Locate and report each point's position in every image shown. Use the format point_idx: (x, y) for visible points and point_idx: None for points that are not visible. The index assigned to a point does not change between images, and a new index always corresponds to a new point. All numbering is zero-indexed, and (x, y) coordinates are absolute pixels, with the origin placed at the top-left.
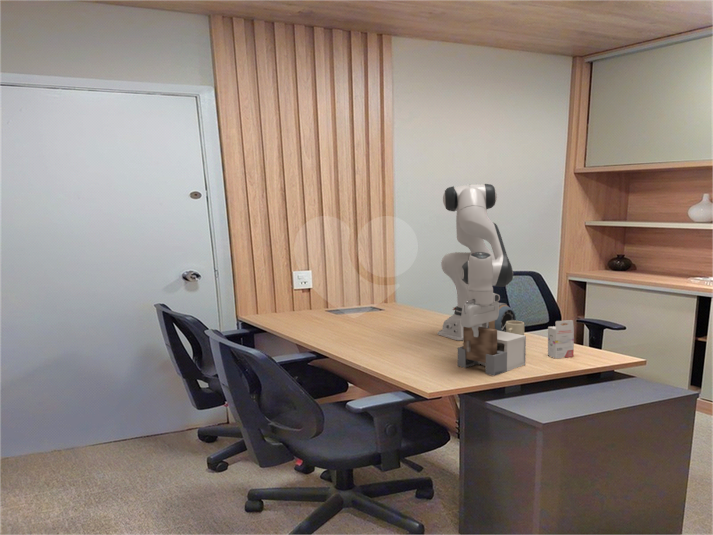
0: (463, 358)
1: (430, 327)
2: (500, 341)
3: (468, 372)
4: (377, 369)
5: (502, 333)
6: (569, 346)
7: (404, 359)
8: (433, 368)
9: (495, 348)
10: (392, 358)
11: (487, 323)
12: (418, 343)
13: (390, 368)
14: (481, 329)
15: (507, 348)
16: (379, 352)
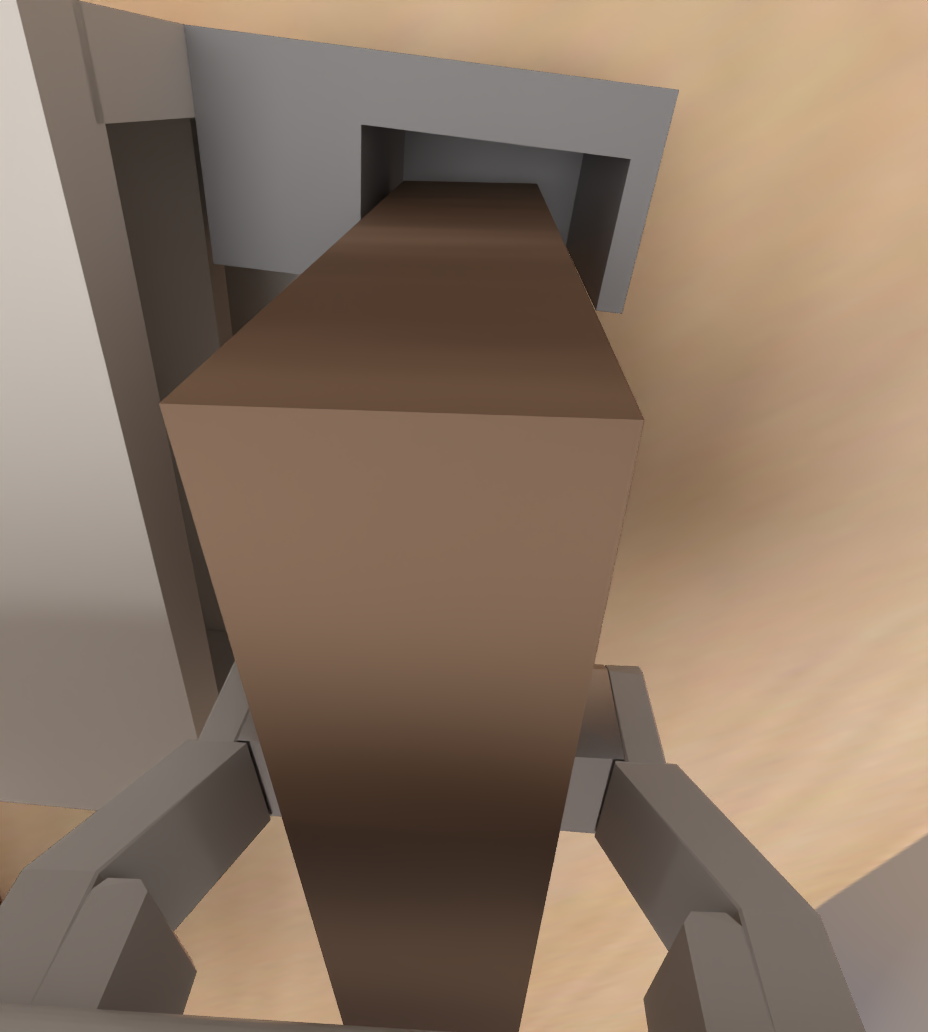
0: None
1: None
2: (108, 267)
3: (641, 413)
4: (885, 844)
5: None
6: None
7: (594, 837)
8: (689, 663)
9: (425, 223)
10: (616, 875)
11: (53, 940)
12: (241, 902)
13: (831, 815)
14: (563, 803)
15: (126, 14)
16: (551, 936)
